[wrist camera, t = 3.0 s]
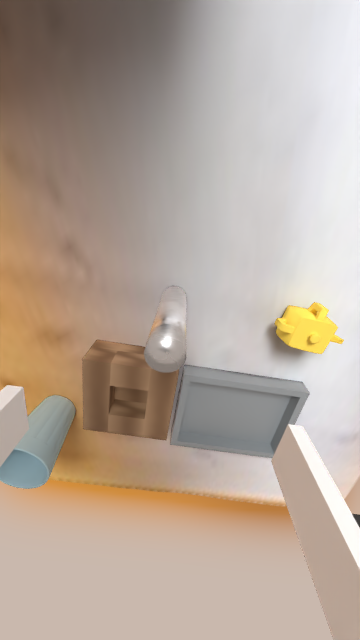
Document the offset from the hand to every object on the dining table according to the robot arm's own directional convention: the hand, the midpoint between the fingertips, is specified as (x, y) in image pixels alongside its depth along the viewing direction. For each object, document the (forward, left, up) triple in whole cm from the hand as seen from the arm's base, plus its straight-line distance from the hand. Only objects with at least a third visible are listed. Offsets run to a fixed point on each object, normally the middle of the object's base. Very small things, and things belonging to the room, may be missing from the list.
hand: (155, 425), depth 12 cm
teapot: (+17, 0, -21) cm, 27 cm away
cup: (-16, -22, -21) cm, 34 cm away
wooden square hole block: (-4, -14, -21) cm, 25 cm away
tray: (+12, -17, -21) cm, 29 cm away
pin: (0, 0, -21) cm, 21 cm away
